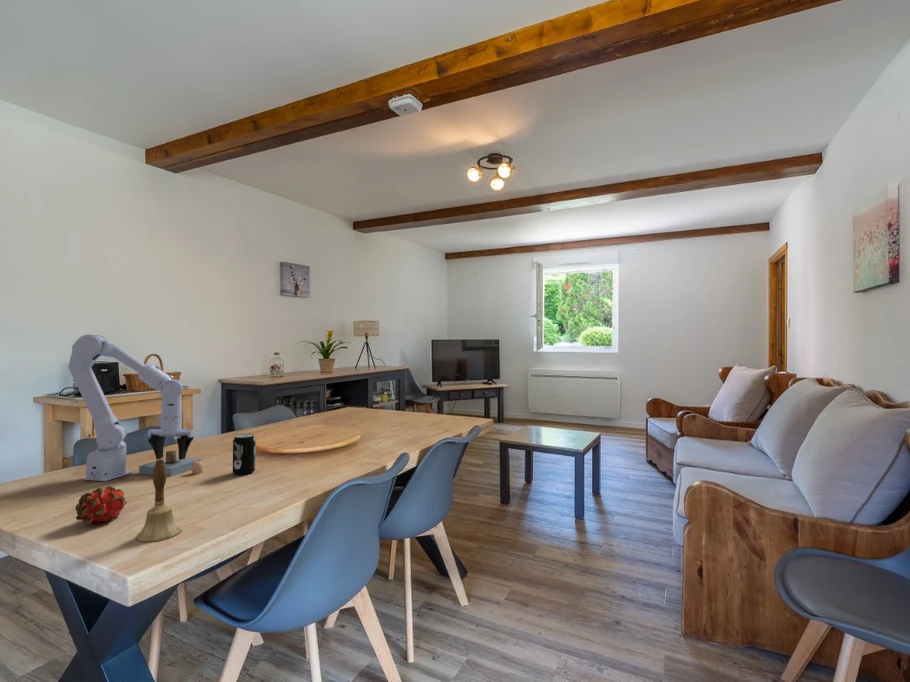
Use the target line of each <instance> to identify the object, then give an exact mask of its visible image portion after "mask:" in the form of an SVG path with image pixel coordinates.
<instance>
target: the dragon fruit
mask: <svg viewBox="0 0 910 682" xmlns="http://www.w3.org/2000/svg"><path fill="white" fill-rule="evenodd" d="M124 496H125V493H124V491H123V489H121V488H118V489H116V488H115V487H114V486H112V485H108V486H106V487H105V488H102V487H98V488H97V489H95V490H92V492H91V491H89V492H85V494H82V495H81V496H80V498H79V499H78V503H77V504H76V505H75V511H76V514H77V516H76V517H75V519H76V520H78V521H82V522H83V524H89V525H92V526H95V525H97V524H99V522H105V523H107V522H109V523H110V522H112V521H114V519H117V518H118V517H119V516H120V513H121V511H122V510H124V507H125V506H126V504H128V502H127V501H126V499H125V497H124Z"/></svg>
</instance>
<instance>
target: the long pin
mask: <svg viewBox="0 0 910 682" xmlns="http://www.w3.org/2000/svg"><path fill="white" fill-rule="evenodd" d="M176 457H177V450H167V451H165V458H166V464H174V463H176Z"/></svg>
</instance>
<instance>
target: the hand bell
mask: <svg viewBox="0 0 910 682" xmlns="http://www.w3.org/2000/svg"><path fill="white" fill-rule="evenodd" d="M163 459H164V458H161V459H155V461H156V464H155V466H154V469H153V475H152V484H153V486H154V491H155V492H154V506H153V507H151V508H149V509H148V510H147V512H146V519H145V521H144V522H145V523H144V525H143V527H142V528H141V531H140V532H138V533H137V535H136V538H135V539H136V541H138V542H141V543H152V542H159V541H163V540H167V539H170V538H173V537H176V536H177V535H179V534H180V533H181V532H182V530H183V527H182V526H181V525H180V524H179V523H177V522H176V520H175V518H174V515H173V510H172V507H171V506H170V505H166V504H165V485H166V482H167V477H168V476H167V470H166V467H165V464H164V461H163Z"/></svg>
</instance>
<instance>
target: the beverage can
mask: <svg viewBox="0 0 910 682" xmlns="http://www.w3.org/2000/svg"><path fill="white" fill-rule="evenodd" d="M256 440H257V439H256V437H255V434H254V433H238V434H234V438H233V440H232V473H233V474H235V476H247V475H250V474H253V473H254V472H255V470H256V457H257V456H256V450H257V445H256V442H257V441H256Z"/></svg>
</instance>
